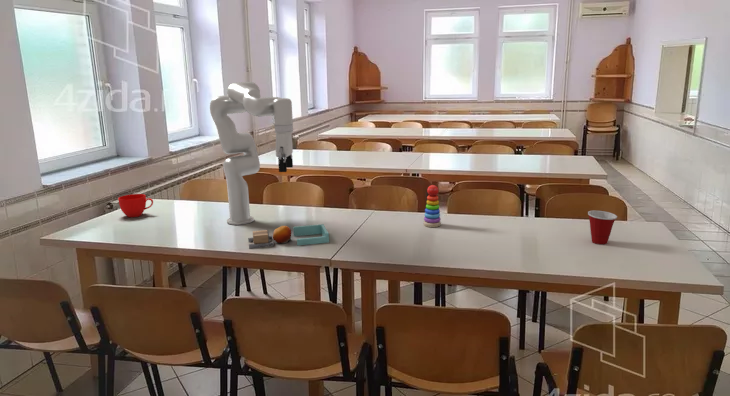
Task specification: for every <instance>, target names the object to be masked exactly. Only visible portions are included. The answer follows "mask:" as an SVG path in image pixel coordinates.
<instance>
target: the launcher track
mask: <svg viewBox="0 0 730 396" xmlns="http://www.w3.org/2000/svg"><path fill="white" fill-rule="evenodd" d="M269 236H270V242H267V243H257V244H254V242H253V237H248V243H249V244H248V249H257V248H268V247H274V246H275V245H274V243H275V241H274V242H273V235H269ZM250 242H251V243H250ZM252 242H253V243H252Z"/></svg>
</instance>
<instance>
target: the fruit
mask: <svg viewBox="0 0 730 396" xmlns="http://www.w3.org/2000/svg"><path fill="white" fill-rule="evenodd" d="M291 238H292V229H291V228H290V227H289V226H287V225H281V226H279V227H276V228H275V229H274V230H273V233H272V241H274V242H276V243H277V244H288V241H292V239H291Z"/></svg>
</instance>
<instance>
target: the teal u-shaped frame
mask: <svg viewBox="0 0 730 396" xmlns="http://www.w3.org/2000/svg"><path fill="white" fill-rule="evenodd" d="M292 229H293V230H292V231H293V237H300V236H301V237H302V236H310V235H311V236H312V235H313V236H314V235H321V236H315V237H304V238H303V237H302V238H296V245H297V246H305V245H307V246H308V245H315V244H326V243H327V244H328V243H330V237H329V235H330V233H329V231H328V230H327V228H326V227H325V225H324V223H319V224H318V223H317V224H308V225H307V224H306V225H300V226H299V225H298V226H293V227H292Z"/></svg>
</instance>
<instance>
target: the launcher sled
mask: <svg viewBox="0 0 730 396" xmlns="http://www.w3.org/2000/svg"><path fill="white" fill-rule="evenodd" d="M270 236H271V235H270V231H269V230H267V229H264V230H252V238H253V244H257V243H267V242H271V240H270Z"/></svg>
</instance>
